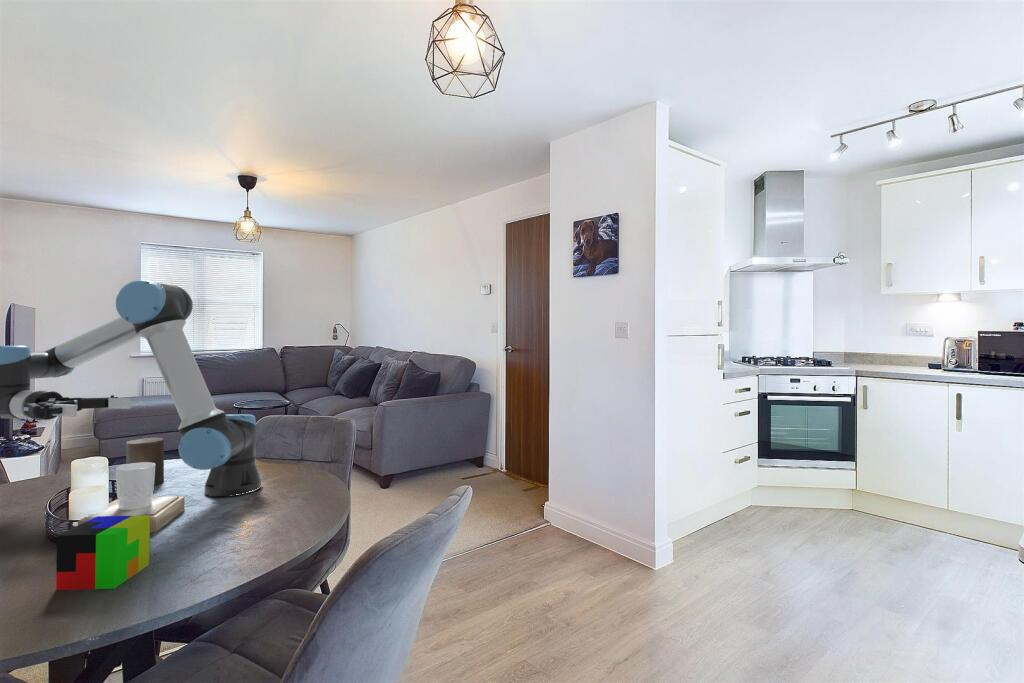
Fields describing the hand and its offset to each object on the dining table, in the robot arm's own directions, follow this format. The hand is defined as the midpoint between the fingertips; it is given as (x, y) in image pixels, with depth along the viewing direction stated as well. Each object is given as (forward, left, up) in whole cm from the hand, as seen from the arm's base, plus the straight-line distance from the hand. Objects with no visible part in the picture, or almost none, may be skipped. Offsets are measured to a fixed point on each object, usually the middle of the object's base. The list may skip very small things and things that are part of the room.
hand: (103, 407), depth 127 cm
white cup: (-9, +4, -25) cm, 27 cm away
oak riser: (-9, +4, -28) cm, 30 cm away
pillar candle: (+5, -33, -29) cm, 44 cm away
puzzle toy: (-18, +35, -29) cm, 49 cm away
